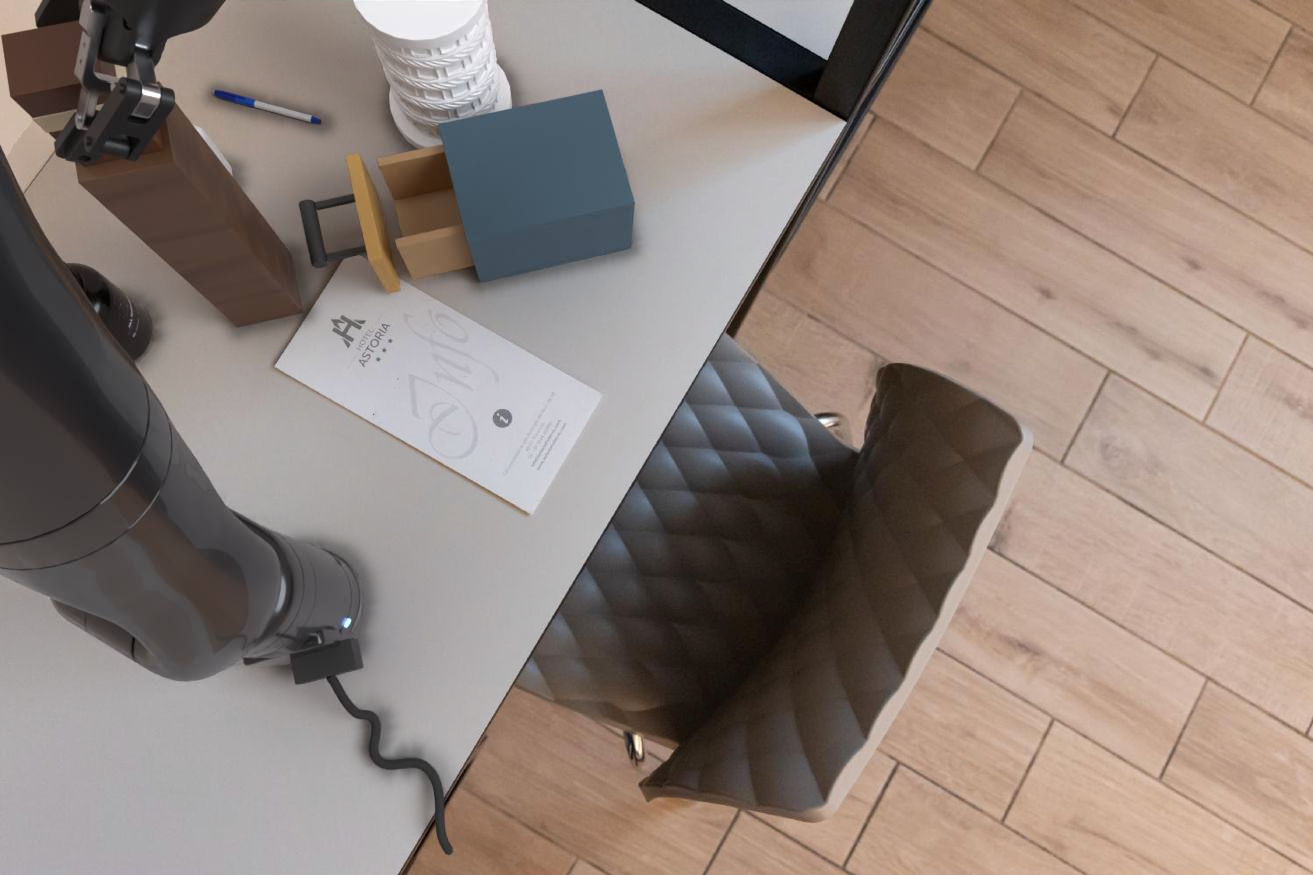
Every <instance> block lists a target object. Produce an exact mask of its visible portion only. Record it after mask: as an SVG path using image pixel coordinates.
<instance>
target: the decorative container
mask: <svg viewBox="0 0 1313 875" xmlns="http://www.w3.org/2000/svg"><path fill="white" fill-rule="evenodd" d="M352 1H353V4H354V6H355V9H356V11H357V14H358V17H359V18H360V20H361V21H362V22H363V24H364V25H365V26H366V28H367V30H368V33H369V36H370V37H371V38H372V40H373V43H374V48H375V52H376V54H377V57H378V59H379V61H380V62H381V64H382V70H383V73H384V76H385V78H386V81H387V82H388V84H389V88H390V89H389V93H388V98H389V99H388V100H389V110H390V112H391V115H392V118H393V121H394V123H395V125H396V128H397V130H398V132H400V134H401V135H402V137H403V138H404V139H405V140H406V141H407V142H408V143H409V144H410V145H412V146H413V147H414V148H416V150H418V149H423V148H428V147H432V146H437V145H442V144H443V143H442V139H441V135H440V131H439V127H438V124H440V123H445V122H450V121H455V120H459V119H464V118H469V117H473V116H478V115H483V114H488V113H492V112H497V111H502V110H507V109H511V108H513V101H512V93H511V86H510V83H509V81H508V80H509V79H508V78H507V76H506V73H505V71H504V70H503V69H502V68H501V66H500V65H499V63H498V62H497V60H498V58H497V50H496V49H495V48H496V44H495V42H494V41H493V40H494V35H493V27H492V26H491V25H492V22H491V20H490V18H489V15H490V13H489V4H488V0H352Z"/></svg>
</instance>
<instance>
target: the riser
mask: <svg viewBox="0 0 1313 875" xmlns="http://www.w3.org/2000/svg"><path fill="white" fill-rule="evenodd" d="M157 84H158V85H159V86H162V87H164V85H163V84H162V83H161V81H159V80H157ZM193 125H194V124H193V123H192V122H191V121H190V119H189V118H188V117H187V115H186V114H185V113H184V111H183V110H182V109H181V108H180V106H179V105H178V104H177V102H176V101H175V104H174V107H173V109H172V111H171V112H170V114H169V115H168V117H167V118H166V119H165V121H164V122H163V124H162V125H161V127H160V133H161V139H162V144H163V150H162V151H157V152H152V153H147V154H143V155H140V157H139V158H138V159H137V161H135V162H134V161H129V160H125V159H118V160H114V161H109V162H104V163H99V164H95V165H90V166H85V167H84V166H83V165H82V164H81V163H76V162H74V165H75V172H76V176H77V183H78V184H79V185H80V186H81V187H82V188H83V189H84V190H86V191H87V192H88V193H89V194H90V195H91V196H92V197H93V198H94V199H95V200H97V201H98V203H100V204H101V205H102V206H103V207H104V208H106V209H107V211H108V212H110V213H111V214H112V215H113V216H114V217H115V218H117V220H119V221H120V222H121V223H122V224H123V225H124V226H125V227H126V228H128V230H130V231H131V232H132V233H133V234H134V235H135V236H136V237H137V238H139V239H140V240H141V241H142V242H143V243H144V244H145V245H146V246H147V247H149V248H150V250H151V251H153V252H154V253H155V254H156V255H157V256H158V257H159V258H161V259H162V260H163V261H164V262H165V263H166V264H167V265H168V266H169V267H170V268H172V269H173V271H175V272H176V273H177V274H178V275H179V276H180V277H182V278H183V279H184V280H185V281H186V282H187V283H188V284H189V285H190V286H191V287H192V288H194V289H195V290H196V291H197V292H198V293H199V294H200V295H201V296H203V298H204V299H206V300H207V301H208V302H209V303H210V304H211V305H212V306H213V307H215V309H216V310H218V311H219V312H220V313H221V314H222V315H223V316H225V318H226V319H228V320H229V321H230V322H231V324H233V325H234V326H235V327H237V328H238V329H239V328H242V327H243V328H244V327H247V326H252V325H256V324H261V323H265V322H269V321H273V320H277V319H278V320H279V319H282V318H286V317H291V316H295V315H300V314H303V313H304V307H303V301H302V297H301V292H300V288H299V282H298V278H297V273H296V268H295V263H294V259H293V254H292V252H291V251H290V249H289V248H288V247H287V245H286V244H285V243H284V242H283V240H282V239H281V238H280V236H279V235H278V234H277V232H275V230H274V229H273V227H272V226H271V225H270V224H269V222H268V221H267V219H266V218H265V217H264V216H263V214H262V213H261V212H260V211H259V209H258V208H257V206H256V205H255V204H254V202H252V200H251V199H250V197H249V196H248V195H247V194H246V192H245V191H244V189H243V188H242V187H241V186H240V184H239V183H238V181H237V180H236V179H235V178H234V176H233V177H232V175H231V174H230V173H229V171H228V170H227V169H226V167H225V166H224V165H223V164H222V162H221V161H220V160H219V158H218V157H217V156H216V154H215V153H214V152H213V151H212V149H211V148H210V147H209V145H208V144H207V143H206V141H205V140H204V139H203V137H202V136H201V135H200V134H199V132H198V131H197V130H196V128H195V127H194V126H193Z"/></svg>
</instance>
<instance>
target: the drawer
mask: <svg viewBox="0 0 1313 875" xmlns="http://www.w3.org/2000/svg"><path fill="white" fill-rule="evenodd" d="M344 157H345V162H346V166H347V170H348V174H349V179H350V183H351V184H350V185H351V188H352V192H353V193H350V194H345V195H341V196H336V197H331V198H327V199H321V200H318V201H315V200H314V199H311V198H310V199H309V198H307V199H303V200H300V201H299V202H298V208H299V214H300V218H301V223H302V227H303V228H302V229H303V232H304V237H305V242H306V246H307V251H308V256H309V260H310V265H311V267H312V268H314V269H324V268H326V267H327V266H329V263H332V262H336V261H340V260H345V259H350V258H354V257H359V256H363V255H367V256H366V257H367V259H368V263H369V264H370V266H371V267H372V270H374V272H375V274H376V276H377V278H378V279H379V281H380V282H381V284H382V286H383V288H384V289H385V291H386V293H387V294H388V295H390V294H394V293H399V292H401V291H402V289H401V284H400V280H399V276H398V272H397V267H396V263H395V258H394V255H393V251H392V250H393V249H392V245H391V241H390V236H389V233H388V228H387V224H386V219H385V214H384V210H383V206H382V202H381V198H380V194H379V192H378V189H377V188H376V186H375V183H374V182H373V179H372V177H371V175H370V173H369V170H368V168H367V166H366V165H365V162H364V161H363V159H362V156H361V155H360V153H359V152H357V153H353V154H349V155H345V156H344ZM376 163H377V167H378V169H379V171H380V173H381V175H382V178H383V180H384V183H385V185H386V187H387V189H388V191H389V193H390V196H391V197H392V199H393V204H394V208H395V212H396V216H397V220H398V225H399V228H400V234H401V237H398V238H395V239H394V240H395V245H396V248H397V251H398V253H399V254H400V256H401V259H402V260H403V261H402V262H404V264H405V267H406V269H407V271H408V273H409V274H410V276H411V279H412V280H416V279H417V280H418V279H421V278H425V277H431V276H434V275H438V274H443V273H447V272H451V271H456V270H460V269H465V268H468V267H475V265H474V262H473V259H472V256H471V253H470V250H469V247H468V244H467V240H466V236H465V232H464V228H463V224H462V220H461V216H460V212H459V208H458V204H457V200H456V196H455V192H454V188H453V184H452V180H451V175H450V171H449V167H448V163H447V159H446V155H445V151H444V147H443V144H442V145H437V146H432V147H428V148H423V149H414V150H409V151H405V152H401V153H400V152H399V153H396V154H390V155H386V156H381V157H378V158H376ZM354 203H355V205H356V210H357V216H358V219H359V224H360V229H361V233H362V238H363V242H364V245H358V246H355V247H349V248H346V249H341V250H337V251H333V252H326V247H325V242H324V237H323V232H322V227H321V223H320V219H319V214H318V213H319V212H318V211H323V210H328V209H332V208H338V207H340V206H341V207H342V206H346V205H350V204H354Z"/></svg>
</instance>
